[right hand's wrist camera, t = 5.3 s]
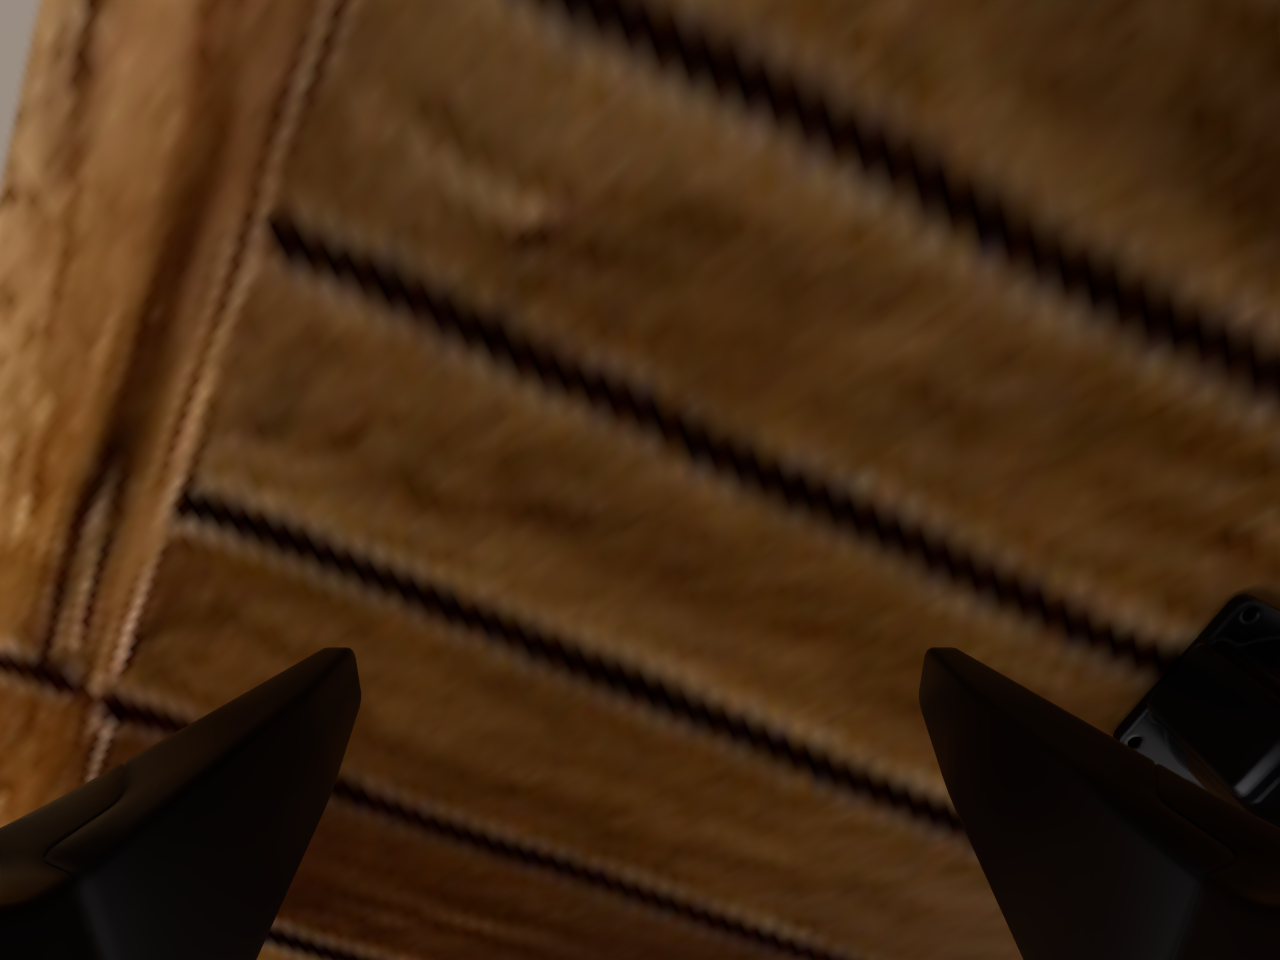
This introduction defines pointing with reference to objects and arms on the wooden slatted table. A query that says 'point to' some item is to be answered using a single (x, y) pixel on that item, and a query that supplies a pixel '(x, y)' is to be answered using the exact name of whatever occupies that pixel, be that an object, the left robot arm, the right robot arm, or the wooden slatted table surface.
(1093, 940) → the right robot arm
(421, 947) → the wooden slatted table surface
